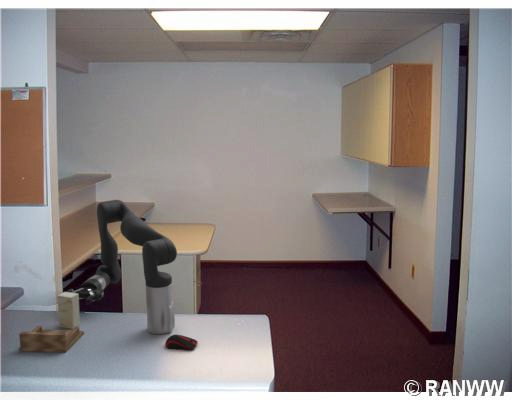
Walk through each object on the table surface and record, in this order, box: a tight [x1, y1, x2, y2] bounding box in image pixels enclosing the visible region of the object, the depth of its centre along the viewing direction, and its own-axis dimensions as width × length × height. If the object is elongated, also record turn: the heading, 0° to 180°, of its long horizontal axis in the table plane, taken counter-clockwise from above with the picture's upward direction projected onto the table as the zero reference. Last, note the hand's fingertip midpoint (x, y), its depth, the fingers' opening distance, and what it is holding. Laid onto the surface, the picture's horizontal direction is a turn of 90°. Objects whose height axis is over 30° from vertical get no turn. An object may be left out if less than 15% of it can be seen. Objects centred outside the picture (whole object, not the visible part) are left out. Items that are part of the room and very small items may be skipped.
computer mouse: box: [164, 334, 198, 351], centre depth 167 cm, size 6×11×4 cm, turn 80°
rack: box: [18, 325, 85, 353], centre depth 170 cm, size 16×14×6 cm
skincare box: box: [57, 291, 81, 330], centre depth 182 cm, size 6×4×12 cm
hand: (75, 301), depth 188 cm, fingers open, 8 cm apart
